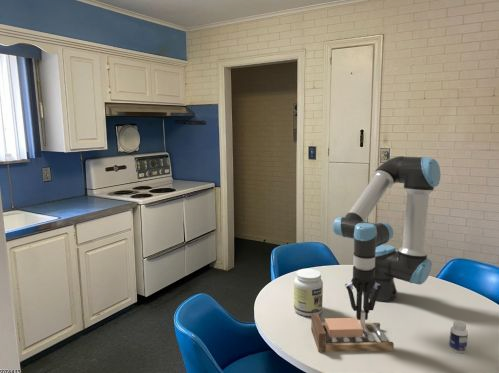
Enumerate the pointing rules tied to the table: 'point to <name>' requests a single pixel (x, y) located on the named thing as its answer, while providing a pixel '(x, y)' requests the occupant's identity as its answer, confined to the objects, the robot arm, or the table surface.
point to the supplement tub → (308, 292)
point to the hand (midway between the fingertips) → (361, 327)
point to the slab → (343, 327)
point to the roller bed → (366, 334)
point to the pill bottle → (458, 337)
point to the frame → (322, 346)
